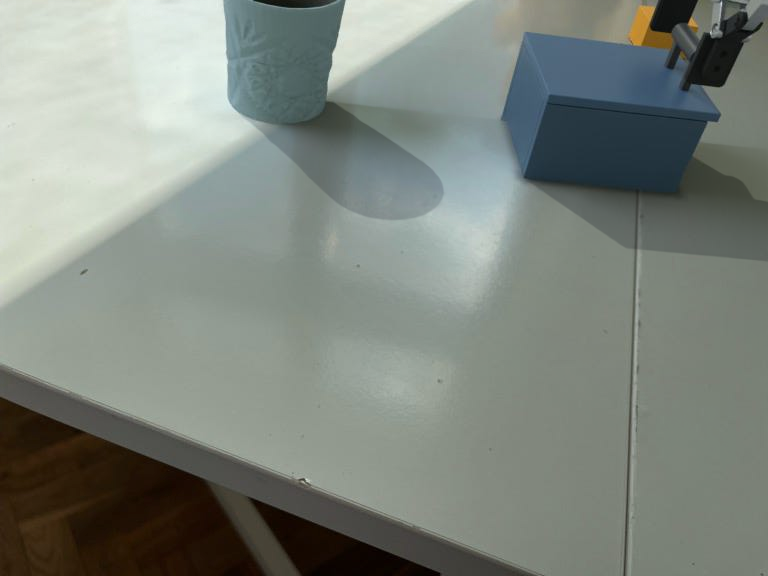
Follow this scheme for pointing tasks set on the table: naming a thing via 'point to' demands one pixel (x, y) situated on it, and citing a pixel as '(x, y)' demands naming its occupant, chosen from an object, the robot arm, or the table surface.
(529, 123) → the cool box
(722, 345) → the table surface
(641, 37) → the cheese pack
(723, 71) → the robot arm
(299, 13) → the embossed flower pot
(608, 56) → the lid
